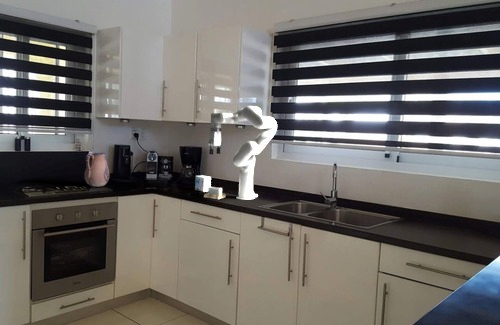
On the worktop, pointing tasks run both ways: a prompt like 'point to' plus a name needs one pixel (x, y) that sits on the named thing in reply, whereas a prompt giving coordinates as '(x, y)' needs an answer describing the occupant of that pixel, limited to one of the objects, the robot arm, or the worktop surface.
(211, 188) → the frame slab
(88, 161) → the ceramic pitcher
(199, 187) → the light bulb box
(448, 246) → the worktop surface
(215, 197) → the oak board
